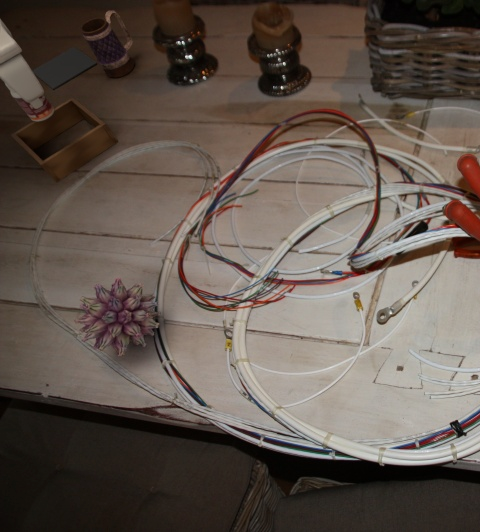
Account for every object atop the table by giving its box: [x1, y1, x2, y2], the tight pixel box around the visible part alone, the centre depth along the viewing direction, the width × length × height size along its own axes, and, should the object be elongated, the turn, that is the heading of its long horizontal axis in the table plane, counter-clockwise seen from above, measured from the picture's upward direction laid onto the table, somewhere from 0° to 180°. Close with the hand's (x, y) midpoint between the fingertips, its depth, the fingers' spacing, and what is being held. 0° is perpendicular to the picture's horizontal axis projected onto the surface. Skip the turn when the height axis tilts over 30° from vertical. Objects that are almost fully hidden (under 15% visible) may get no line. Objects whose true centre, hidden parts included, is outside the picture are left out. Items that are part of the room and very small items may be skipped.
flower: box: [73, 277, 161, 357], centre depth 83 cm, size 12×12×12 cm
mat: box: [31, 46, 98, 91], centre depth 134 cm, size 12×12×1 cm
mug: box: [80, 10, 135, 79], centre depth 127 cm, size 10×7×12 cm
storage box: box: [10, 97, 119, 183], centre depth 115 cm, size 15×15×5 cm
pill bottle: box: [4, 82, 55, 122], centre depth 106 cm, size 5×5×8 cm
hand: (31, 99), depth 106 cm, fingers closed on pill bottle, 5 cm apart
